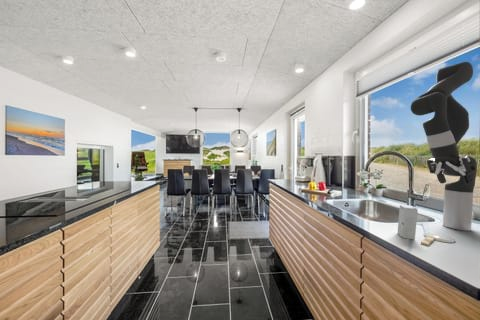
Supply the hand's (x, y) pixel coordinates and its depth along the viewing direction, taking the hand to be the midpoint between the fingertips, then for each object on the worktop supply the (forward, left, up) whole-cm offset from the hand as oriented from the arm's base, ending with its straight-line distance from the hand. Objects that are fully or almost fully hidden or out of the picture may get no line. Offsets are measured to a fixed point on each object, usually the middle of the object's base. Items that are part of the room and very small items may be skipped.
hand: (455, 183), depth 81 cm
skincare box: (+12, -12, -22) cm, 28 cm away
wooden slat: (+12, -5, -22) cm, 26 cm away
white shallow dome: (+2, -4, -22) cm, 23 cm away
